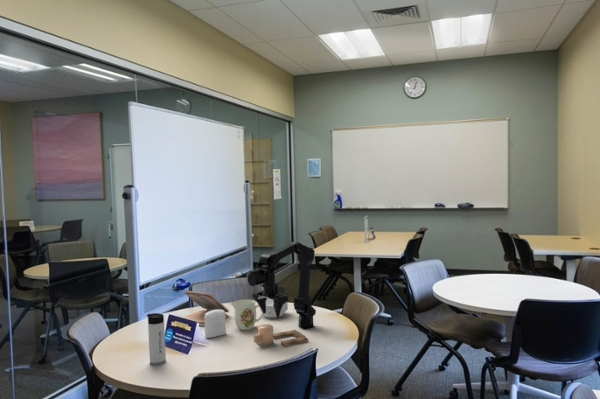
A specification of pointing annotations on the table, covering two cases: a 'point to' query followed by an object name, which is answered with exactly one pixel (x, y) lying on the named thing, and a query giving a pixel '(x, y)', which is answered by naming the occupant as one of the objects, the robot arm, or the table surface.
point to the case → (204, 306)
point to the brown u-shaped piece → (298, 339)
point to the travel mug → (156, 338)
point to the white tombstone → (215, 323)
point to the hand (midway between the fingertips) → (271, 315)
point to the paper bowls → (271, 311)
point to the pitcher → (245, 313)
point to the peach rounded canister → (264, 335)
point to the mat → (266, 346)
